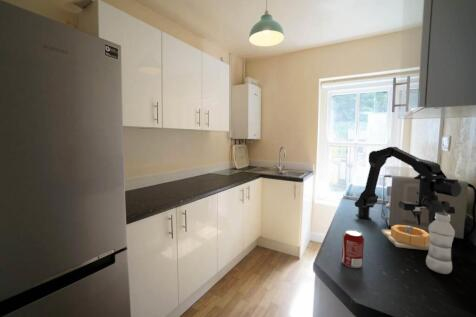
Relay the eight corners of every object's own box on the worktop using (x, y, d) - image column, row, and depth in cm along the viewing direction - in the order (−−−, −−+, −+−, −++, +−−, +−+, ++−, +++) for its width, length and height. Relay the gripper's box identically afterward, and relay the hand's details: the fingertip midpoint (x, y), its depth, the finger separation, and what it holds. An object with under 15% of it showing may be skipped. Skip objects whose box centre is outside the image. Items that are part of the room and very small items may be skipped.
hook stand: (381, 231, 108) (381, 218, 107) (418, 235, 104) (419, 222, 103) (396, 246, 92) (397, 232, 92) (441, 251, 89) (442, 236, 88)
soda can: (365, 271, 75) (367, 237, 74) (344, 268, 76) (345, 235, 75) (358, 260, 82) (360, 229, 81) (339, 258, 83) (340, 227, 82)
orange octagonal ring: (386, 230, 106) (387, 223, 105) (417, 233, 103) (418, 226, 102) (399, 243, 93) (400, 235, 93) (435, 246, 90) (435, 238, 90)
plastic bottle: (450, 279, 71) (455, 219, 69) (423, 269, 76) (427, 213, 74) (452, 272, 75) (458, 215, 73) (427, 263, 80) (431, 210, 78)
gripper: (412, 194, 89) (409, 231, 90) (467, 197, 85) (464, 236, 86) (399, 188, 100) (396, 221, 101) (447, 190, 96) (444, 225, 97)
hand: (424, 226), depth 96 cm, fingers open, 4 cm apart
